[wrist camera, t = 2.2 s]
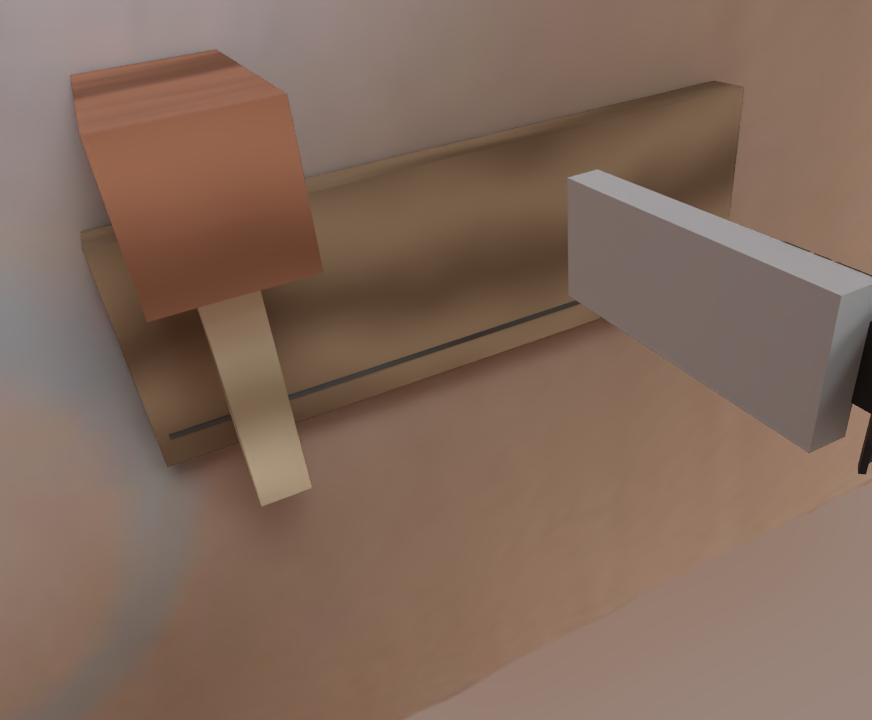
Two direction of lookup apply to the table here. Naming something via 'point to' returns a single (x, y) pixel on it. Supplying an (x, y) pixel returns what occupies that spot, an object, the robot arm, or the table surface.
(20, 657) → the table surface
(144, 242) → the mallet
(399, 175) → the board
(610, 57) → the table surface
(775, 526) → the table surface
